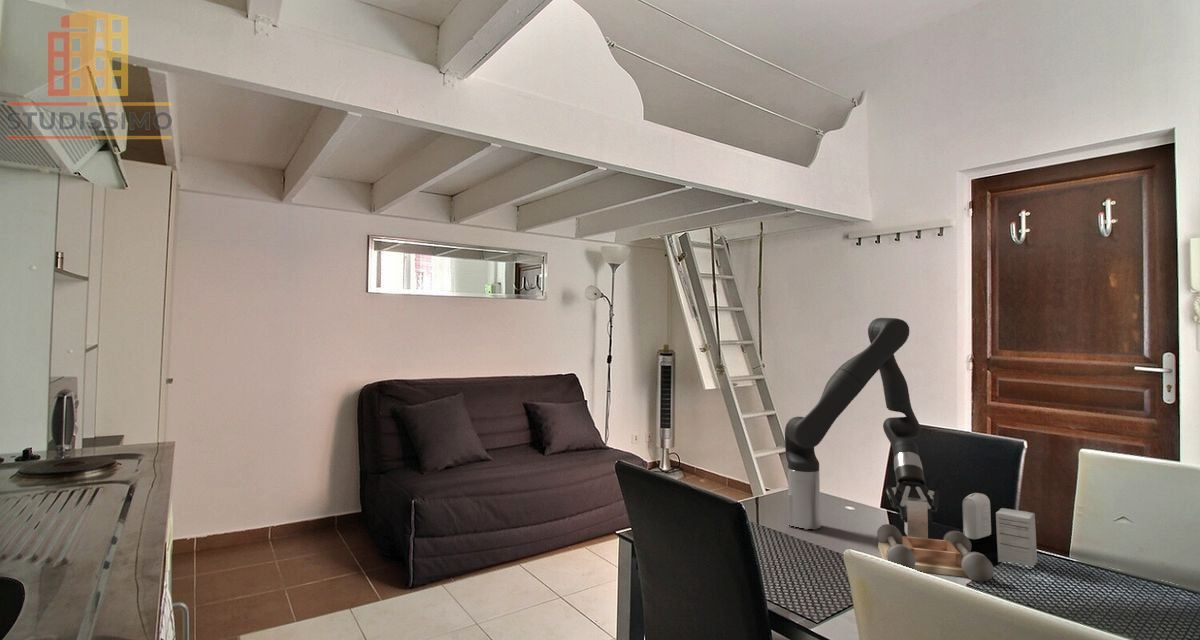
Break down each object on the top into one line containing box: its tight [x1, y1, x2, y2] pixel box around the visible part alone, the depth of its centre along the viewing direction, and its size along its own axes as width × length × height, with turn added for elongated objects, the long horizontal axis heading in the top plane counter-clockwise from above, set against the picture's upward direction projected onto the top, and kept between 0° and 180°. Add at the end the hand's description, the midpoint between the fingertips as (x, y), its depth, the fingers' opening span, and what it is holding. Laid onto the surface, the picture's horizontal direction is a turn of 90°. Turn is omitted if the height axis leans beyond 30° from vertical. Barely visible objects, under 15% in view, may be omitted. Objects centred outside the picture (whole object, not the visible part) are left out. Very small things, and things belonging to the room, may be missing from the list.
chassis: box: [876, 523, 995, 583], centre depth 144 cm, size 22×21×6 cm
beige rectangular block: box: [904, 497, 929, 539], centre depth 160 cm, size 5×5×10 cm
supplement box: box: [995, 507, 1038, 566], centre depth 145 cm, size 7×7×13 cm
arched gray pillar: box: [962, 492, 992, 540], centre depth 167 cm, size 10×4×12 cm, turn 123°
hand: (917, 521), depth 159 cm, fingers closed on beige rectangular block, 5 cm apart
